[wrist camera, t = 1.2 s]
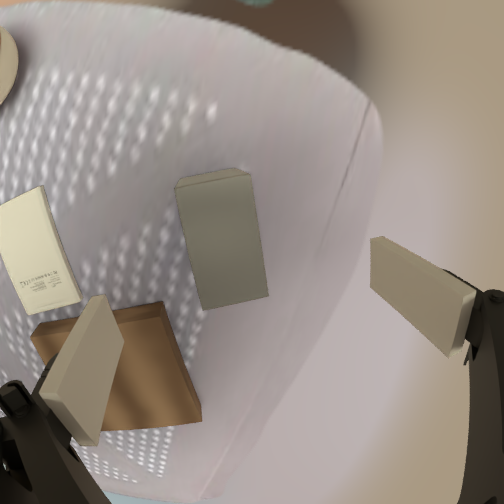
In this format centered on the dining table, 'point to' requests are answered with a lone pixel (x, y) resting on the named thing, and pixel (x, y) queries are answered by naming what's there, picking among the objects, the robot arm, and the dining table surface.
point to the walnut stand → (137, 370)
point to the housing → (222, 237)
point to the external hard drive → (35, 254)
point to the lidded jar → (7, 63)
